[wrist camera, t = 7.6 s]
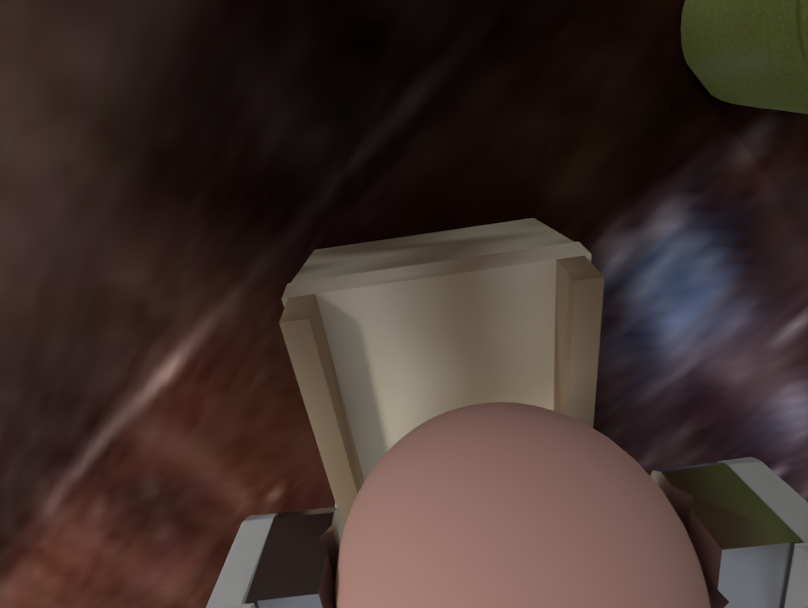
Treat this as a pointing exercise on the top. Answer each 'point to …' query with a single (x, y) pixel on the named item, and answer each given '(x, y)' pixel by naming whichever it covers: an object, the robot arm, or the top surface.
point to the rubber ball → (513, 521)
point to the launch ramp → (438, 335)
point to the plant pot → (749, 51)
